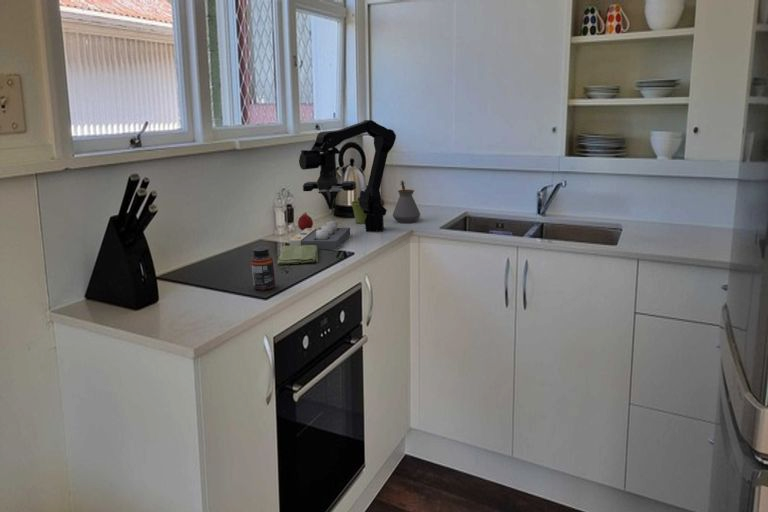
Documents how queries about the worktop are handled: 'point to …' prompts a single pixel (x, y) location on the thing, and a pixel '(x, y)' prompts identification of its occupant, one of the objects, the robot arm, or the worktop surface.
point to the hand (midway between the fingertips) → (330, 209)
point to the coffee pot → (406, 207)
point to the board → (332, 240)
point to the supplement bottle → (262, 269)
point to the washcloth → (298, 254)
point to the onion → (305, 221)
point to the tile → (301, 237)
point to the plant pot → (358, 213)
